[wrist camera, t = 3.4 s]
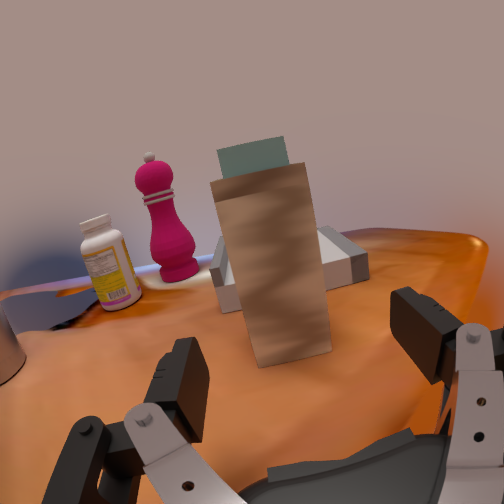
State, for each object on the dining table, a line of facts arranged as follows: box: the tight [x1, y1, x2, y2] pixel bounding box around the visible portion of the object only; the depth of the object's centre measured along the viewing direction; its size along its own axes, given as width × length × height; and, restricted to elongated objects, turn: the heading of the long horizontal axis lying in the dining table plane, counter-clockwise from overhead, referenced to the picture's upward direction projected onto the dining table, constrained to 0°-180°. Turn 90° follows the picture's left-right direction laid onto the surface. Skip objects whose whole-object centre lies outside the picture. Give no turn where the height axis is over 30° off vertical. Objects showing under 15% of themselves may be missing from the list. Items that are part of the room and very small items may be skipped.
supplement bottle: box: [80, 214, 142, 311], centre depth 36 cm, size 7×7×13 cm
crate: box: [210, 162, 332, 368], centre depth 20 cm, size 6×6×13 cm
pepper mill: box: [135, 152, 199, 282], centre depth 41 cm, size 7×7×20 cm
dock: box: [209, 226, 369, 313], centre depth 34 cm, size 16×14×5 cm
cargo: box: [217, 136, 290, 179], centre depth 18 cm, size 4×4×3 cm
